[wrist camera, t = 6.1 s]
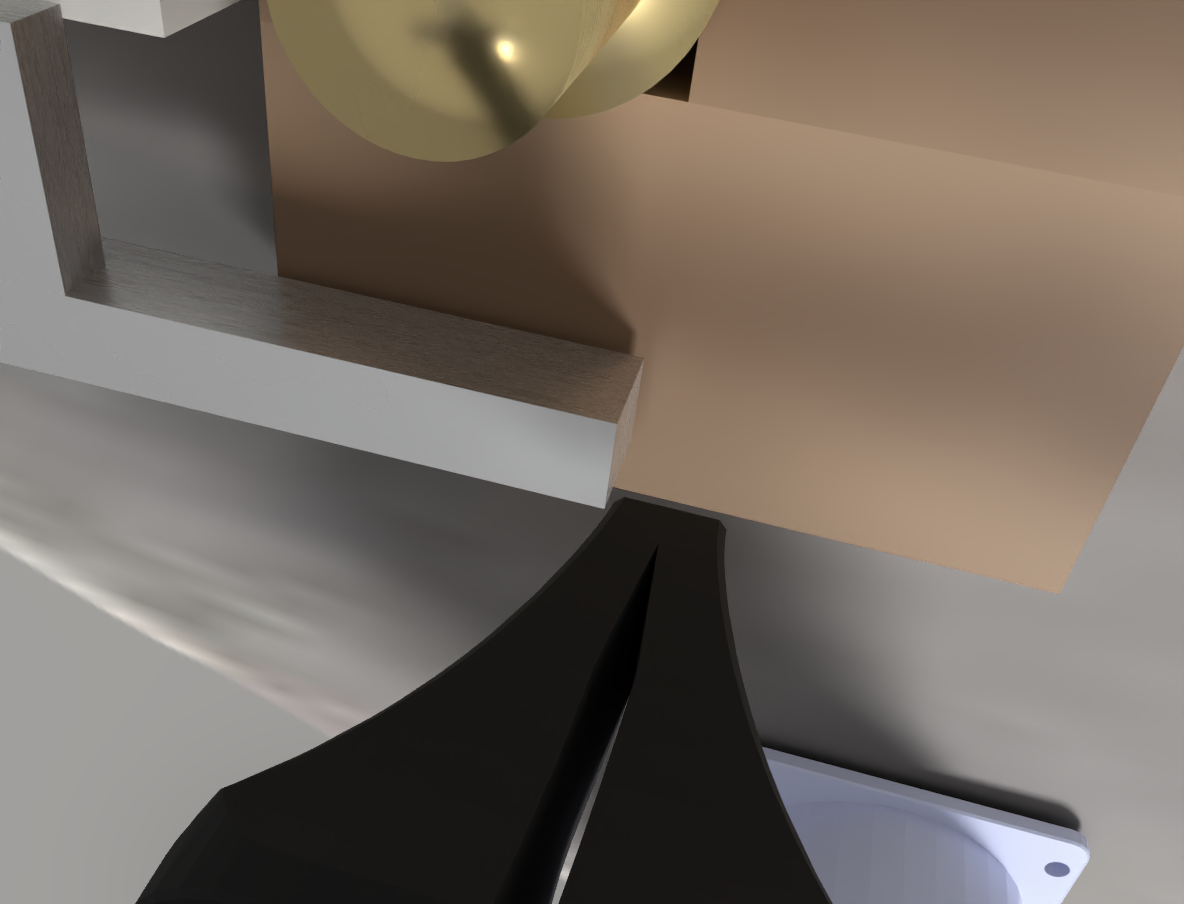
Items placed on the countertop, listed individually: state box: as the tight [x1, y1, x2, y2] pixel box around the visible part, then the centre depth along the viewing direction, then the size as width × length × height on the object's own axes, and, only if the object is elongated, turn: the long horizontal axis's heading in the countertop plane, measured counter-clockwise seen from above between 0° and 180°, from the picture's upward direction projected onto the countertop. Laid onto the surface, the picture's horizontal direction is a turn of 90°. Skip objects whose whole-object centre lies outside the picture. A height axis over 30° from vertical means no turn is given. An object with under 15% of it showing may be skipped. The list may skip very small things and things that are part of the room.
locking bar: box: [0, 0, 644, 509], centre depth 16 cm, size 5×11×2 cm, turn 85°
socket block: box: [259, 0, 1184, 594], centre depth 16 cm, size 12×13×3 cm
